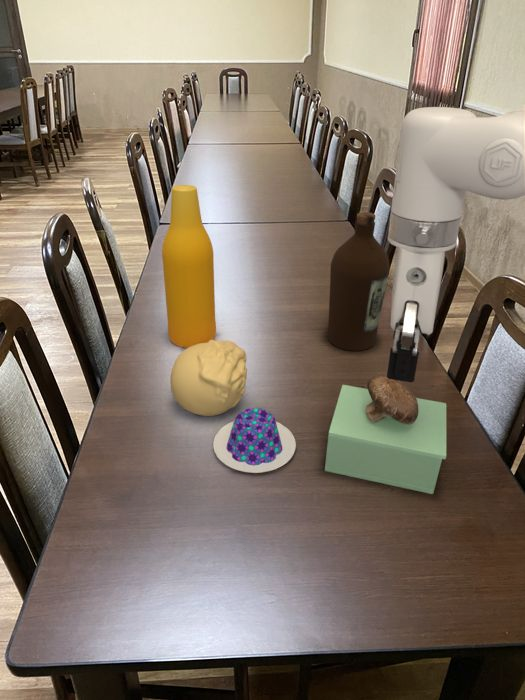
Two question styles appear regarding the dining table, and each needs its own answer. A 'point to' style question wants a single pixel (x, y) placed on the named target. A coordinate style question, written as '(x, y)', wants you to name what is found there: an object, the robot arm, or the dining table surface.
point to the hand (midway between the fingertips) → (402, 359)
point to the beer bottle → (188, 272)
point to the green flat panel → (390, 425)
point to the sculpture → (209, 377)
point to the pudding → (254, 442)
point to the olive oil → (357, 288)
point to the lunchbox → (382, 464)
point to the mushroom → (391, 401)
